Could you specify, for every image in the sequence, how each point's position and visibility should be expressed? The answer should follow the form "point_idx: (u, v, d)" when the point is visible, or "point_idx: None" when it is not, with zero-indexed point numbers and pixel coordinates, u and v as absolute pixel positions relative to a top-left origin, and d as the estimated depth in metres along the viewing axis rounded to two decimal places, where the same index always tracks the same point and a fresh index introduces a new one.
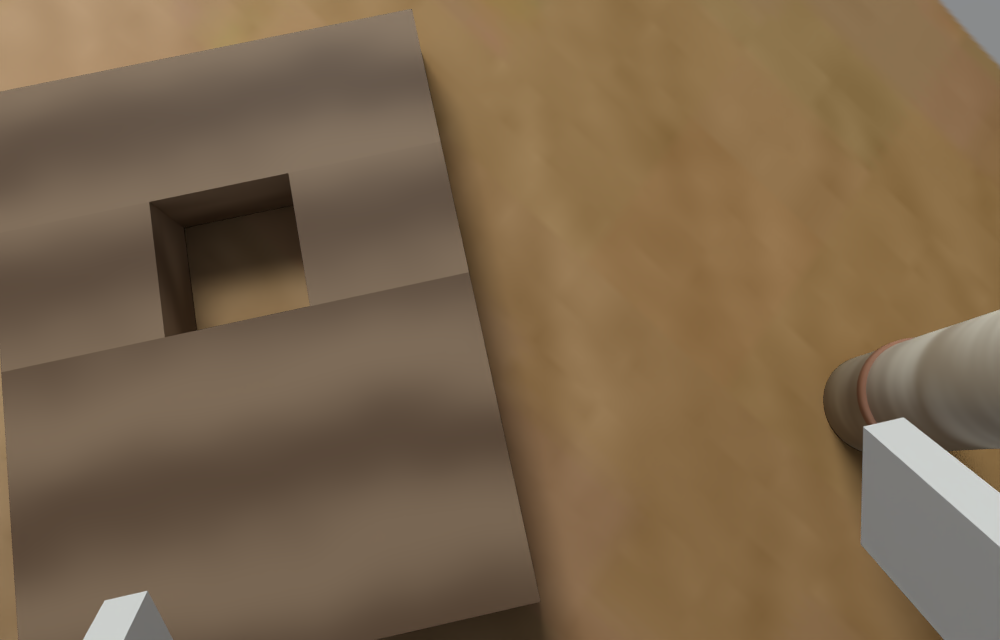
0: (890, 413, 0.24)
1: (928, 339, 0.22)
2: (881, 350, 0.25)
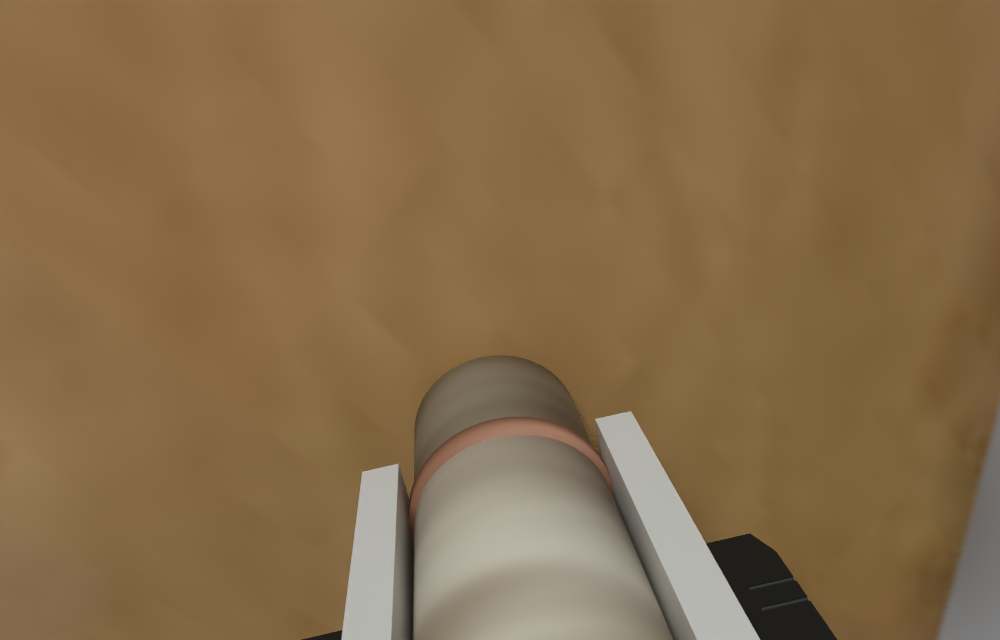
0: None
1: (454, 575, 0.10)
2: (450, 454, 0.13)
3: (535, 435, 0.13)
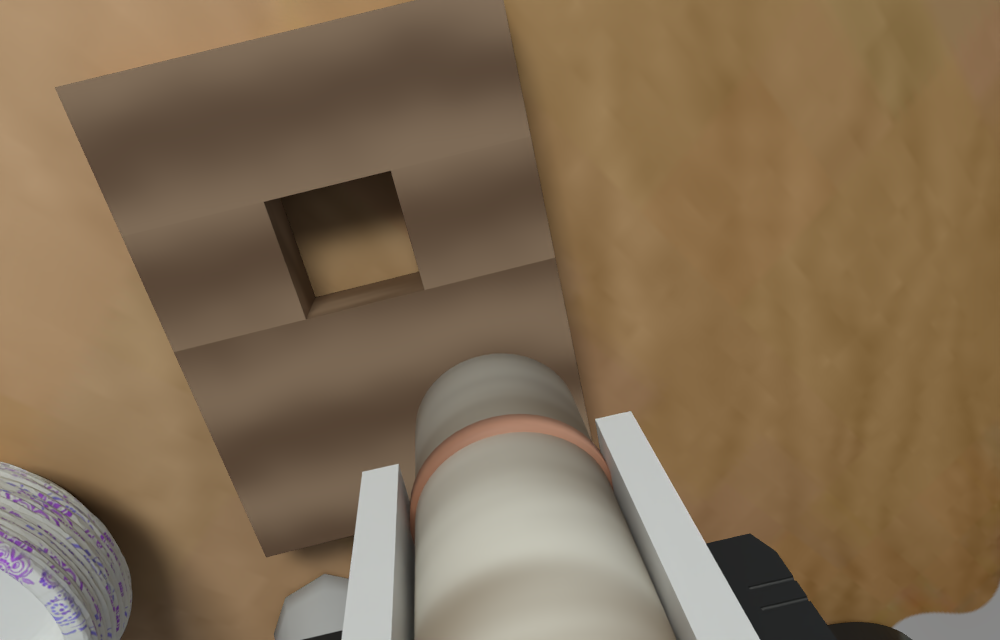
0: None
1: (455, 572, 0.10)
2: (451, 451, 0.13)
3: (536, 432, 0.13)
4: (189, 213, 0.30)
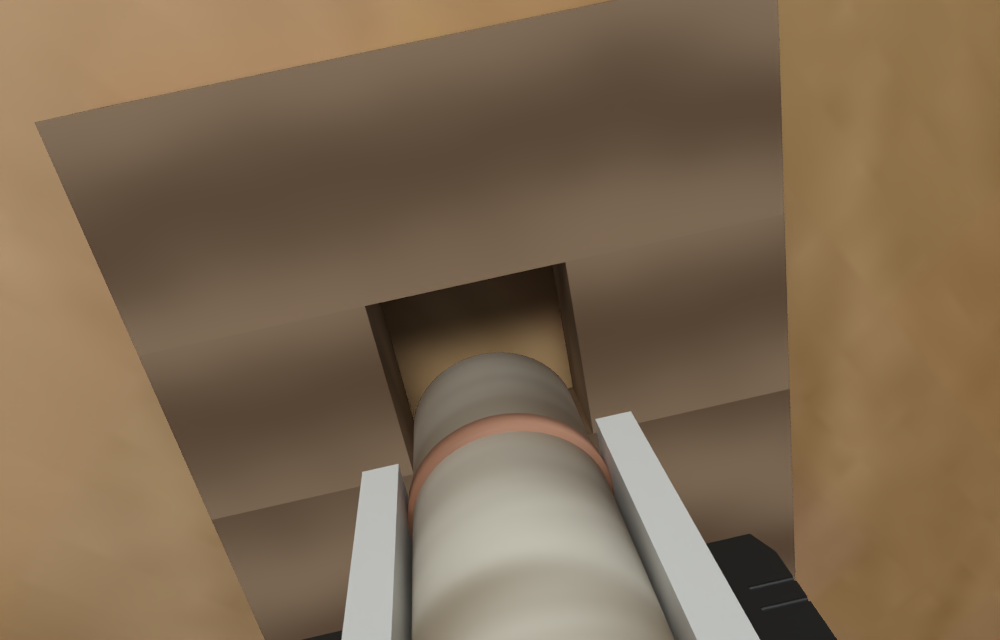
0: None
1: (453, 571, 0.10)
2: (449, 450, 0.13)
3: (534, 431, 0.13)
4: (247, 322, 0.19)
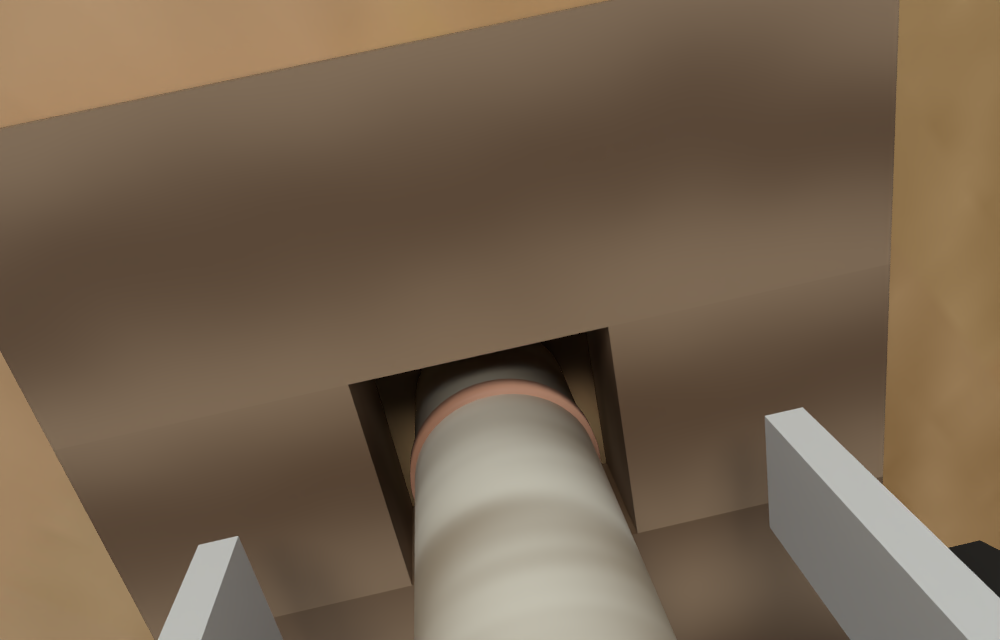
0: None
1: (451, 509, 0.12)
2: (448, 411, 0.14)
3: (525, 394, 0.15)
4: (195, 407, 0.14)
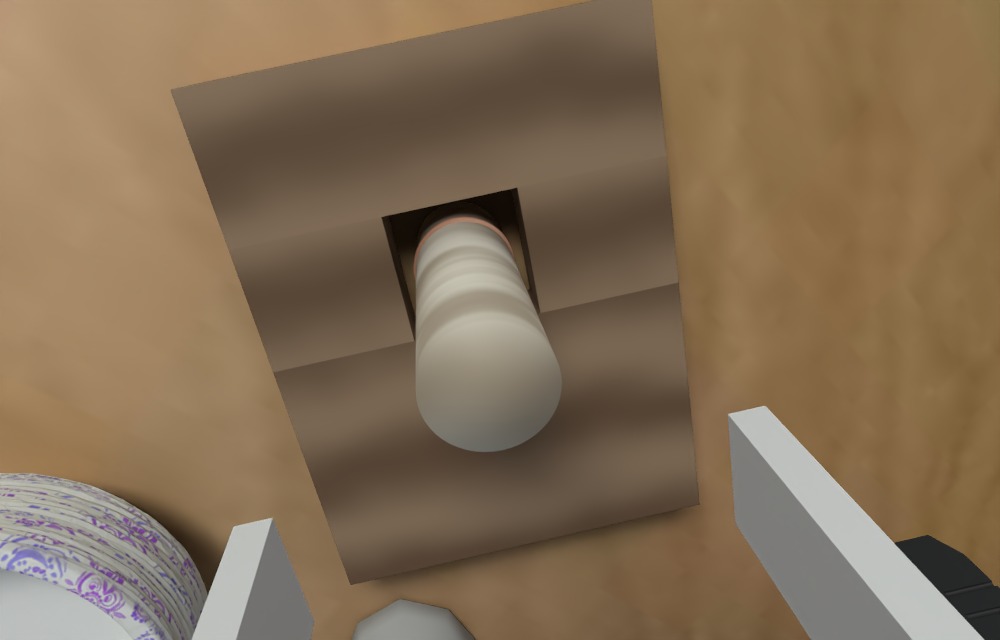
0: None
1: (433, 256, 0.25)
2: (433, 230, 0.28)
3: (473, 222, 0.28)
4: (302, 227, 0.28)
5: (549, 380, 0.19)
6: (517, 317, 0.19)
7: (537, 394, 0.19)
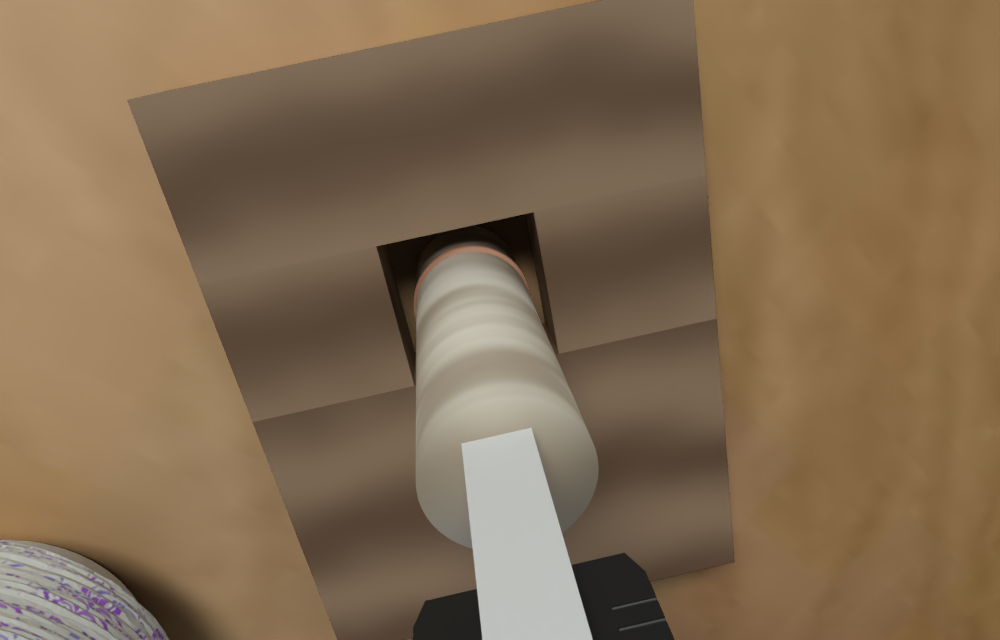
0: None
1: (436, 296, 0.21)
2: (436, 262, 0.24)
3: (483, 252, 0.24)
4: (284, 258, 0.24)
5: (583, 467, 0.15)
6: (543, 388, 0.15)
7: (568, 484, 0.15)
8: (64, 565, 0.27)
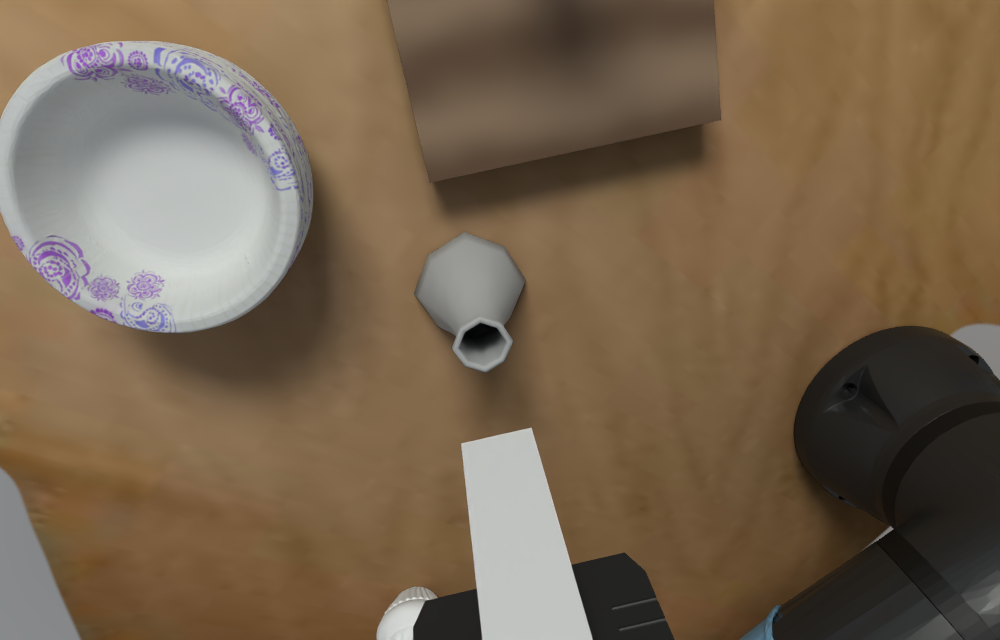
0: None
1: None
2: None
3: None
4: None
5: None
6: None
7: None
8: (239, 68, 0.37)
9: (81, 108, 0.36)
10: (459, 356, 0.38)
